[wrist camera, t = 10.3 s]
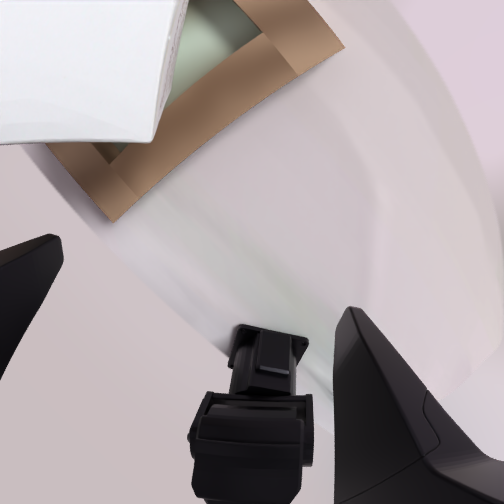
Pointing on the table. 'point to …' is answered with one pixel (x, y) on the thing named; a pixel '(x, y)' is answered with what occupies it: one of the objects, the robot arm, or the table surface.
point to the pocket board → (205, 91)
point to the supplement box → (86, 68)
